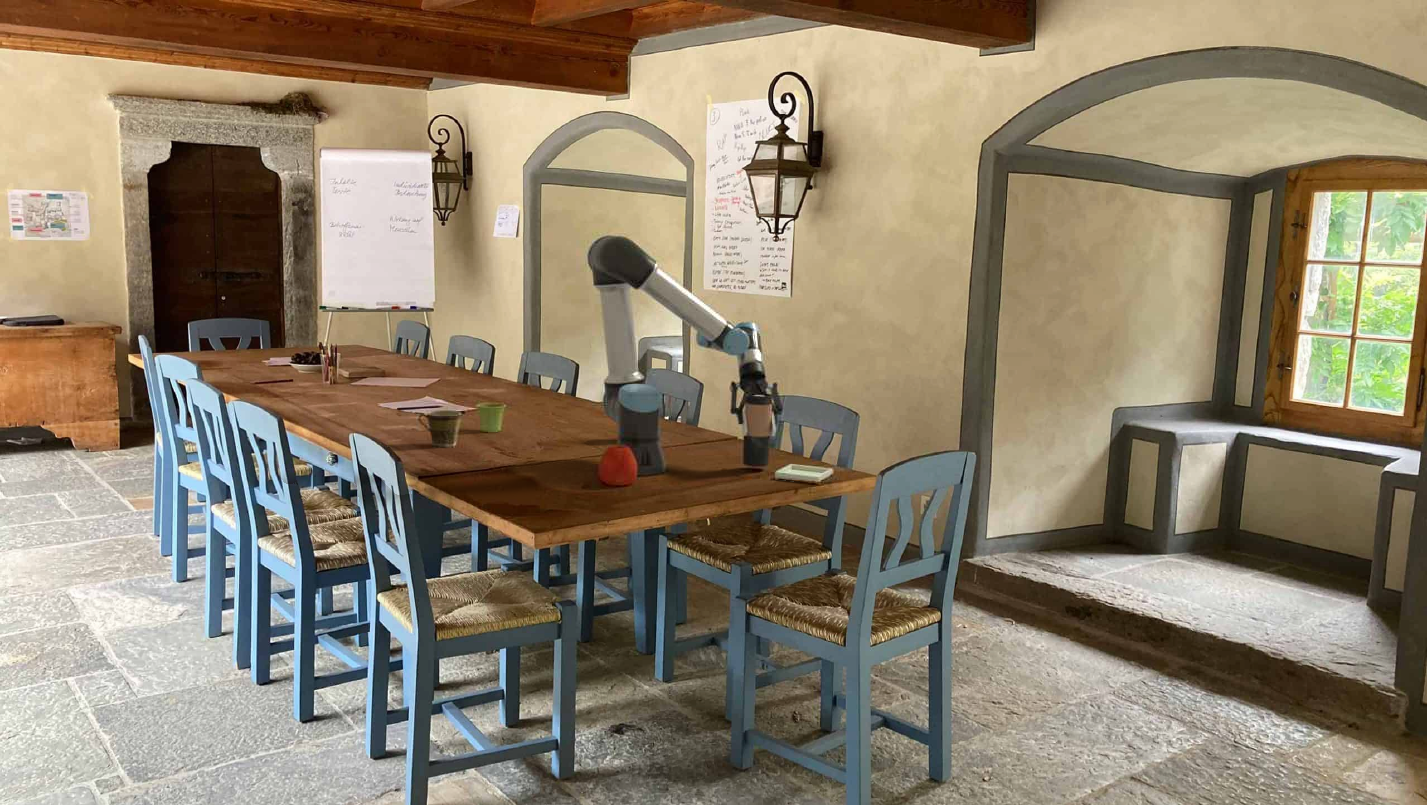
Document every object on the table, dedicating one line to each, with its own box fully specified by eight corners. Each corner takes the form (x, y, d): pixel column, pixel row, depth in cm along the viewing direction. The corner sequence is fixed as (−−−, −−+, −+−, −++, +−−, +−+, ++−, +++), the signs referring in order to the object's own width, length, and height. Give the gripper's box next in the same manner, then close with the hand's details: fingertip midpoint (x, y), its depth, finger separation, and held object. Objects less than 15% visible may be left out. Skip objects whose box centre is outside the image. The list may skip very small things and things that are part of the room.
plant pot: (473, 429, 363) (473, 403, 362) (501, 428, 367) (501, 402, 366) (480, 434, 355) (480, 407, 354) (509, 433, 359) (509, 406, 358)
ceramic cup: (465, 443, 340) (465, 411, 338) (455, 449, 330) (454, 416, 328) (424, 441, 341) (424, 409, 339) (413, 447, 331) (412, 414, 330)
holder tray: (818, 484, 297) (818, 477, 297) (774, 479, 302) (775, 471, 302) (832, 475, 308) (833, 468, 308) (790, 470, 313) (790, 463, 313)
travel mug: (773, 463, 315) (777, 394, 312) (761, 468, 308) (764, 397, 305) (750, 460, 319) (753, 391, 316) (737, 464, 312) (740, 394, 309)
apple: (617, 477, 299) (618, 439, 297) (645, 483, 293) (646, 444, 291) (590, 483, 291) (591, 444, 290) (618, 489, 285) (619, 449, 283)
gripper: (782, 377, 327) (792, 441, 313) (715, 375, 323) (721, 440, 310) (787, 361, 321) (797, 425, 307) (718, 359, 317) (725, 424, 304)
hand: (759, 433), depth 309 cm, fingers closed on travel mug, 7 cm apart
